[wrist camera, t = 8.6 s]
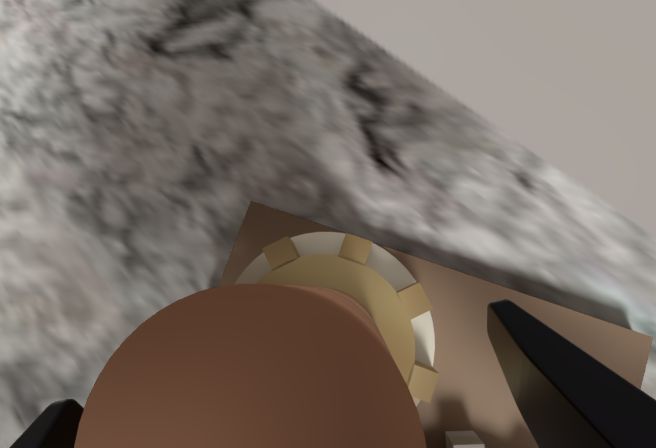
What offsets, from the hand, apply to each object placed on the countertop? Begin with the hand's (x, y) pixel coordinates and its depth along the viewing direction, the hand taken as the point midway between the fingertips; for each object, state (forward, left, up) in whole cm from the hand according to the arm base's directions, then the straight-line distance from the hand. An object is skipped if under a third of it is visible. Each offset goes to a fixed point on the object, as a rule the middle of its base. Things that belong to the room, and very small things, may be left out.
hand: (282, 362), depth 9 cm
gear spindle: (0, 0, -9) cm, 9 cm away
